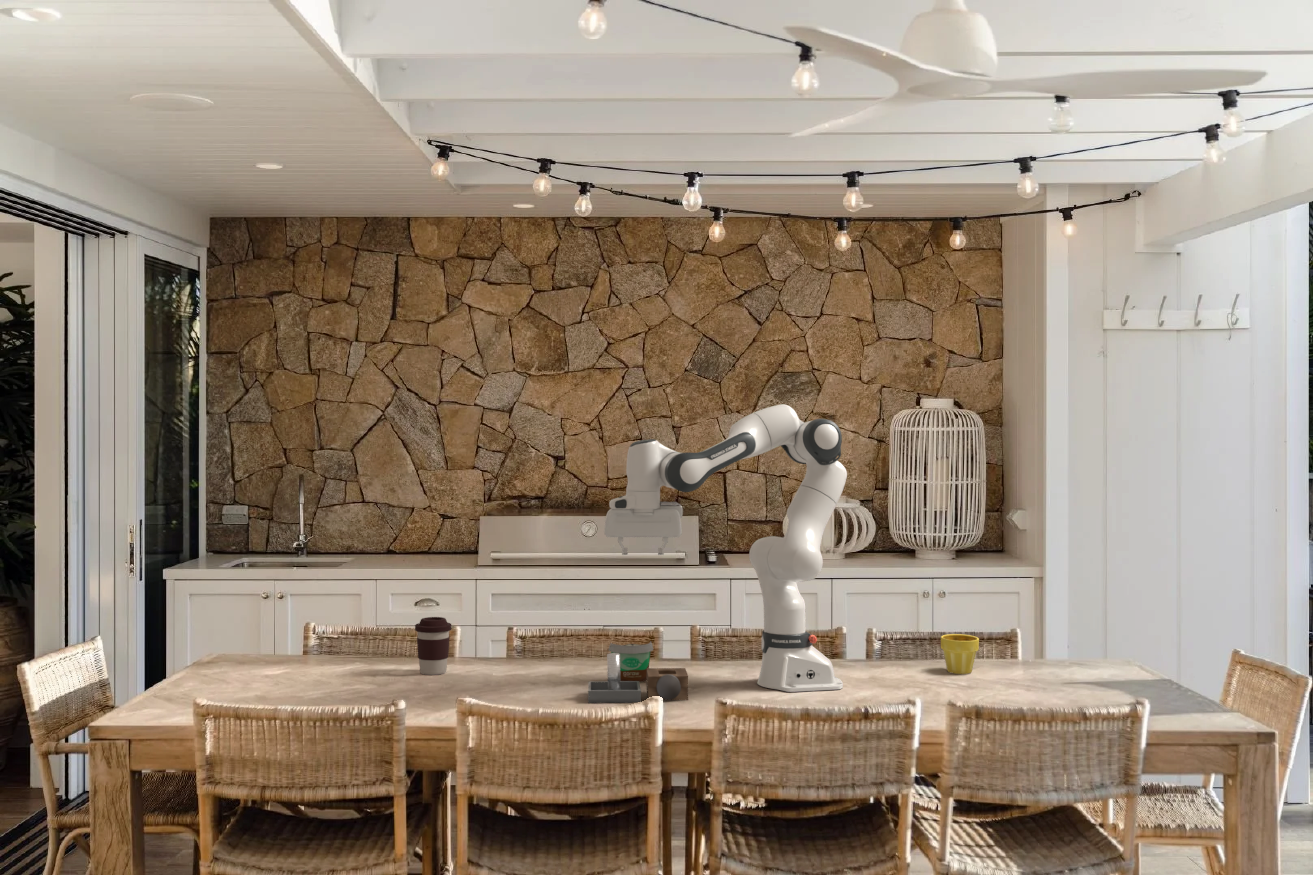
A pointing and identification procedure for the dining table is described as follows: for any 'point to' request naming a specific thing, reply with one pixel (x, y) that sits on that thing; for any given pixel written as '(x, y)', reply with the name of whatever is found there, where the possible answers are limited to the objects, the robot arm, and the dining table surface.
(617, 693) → the tray
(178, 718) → the dining table surface
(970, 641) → the plant pot
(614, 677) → the lock pin
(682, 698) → the block
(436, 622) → the coffee cup
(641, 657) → the food container
